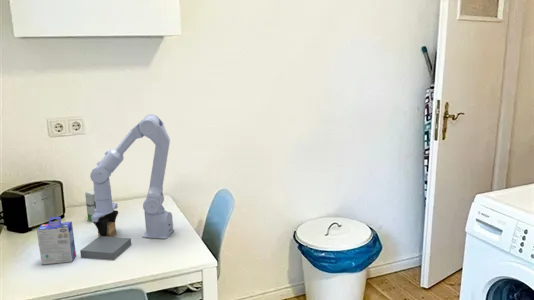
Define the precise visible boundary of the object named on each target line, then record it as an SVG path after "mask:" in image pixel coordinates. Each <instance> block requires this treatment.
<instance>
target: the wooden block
mask: <svg viewBox="0 0 534 300" xmlns="http://www.w3.org/2000/svg"><path fill="white" fill-rule="evenodd" d="M97 233H98V237H99V236H100V233H99V231H98V230H97ZM116 236H117V227H116V221H115V222H108V223H107V237H116Z"/></svg>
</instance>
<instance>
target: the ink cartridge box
mask: <svg viewBox="0 0 534 300" xmlns="http://www.w3.org/2000/svg"><path fill="white" fill-rule="evenodd" d="M53 220H57V221H53ZM73 228H74V227H73V222H72V221H64V222H63V221H62V219H61V216H54V217H53V216H52V217H49V218H48V223H45V224H40V226H39V227H38V229H36V232H37V233H36V234H37V240H38V241H37V242H38V247H39V255H40V262H41V265H50V264H52V265H53V264H60V263H70V262H71V263H72V262H73V261H74V259H75V258H76V256H77V251H76V245H75V236H74V229H73Z"/></svg>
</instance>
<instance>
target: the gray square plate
mask: <svg viewBox="0 0 534 300" xmlns="http://www.w3.org/2000/svg"><path fill="white" fill-rule="evenodd" d="M130 245H131V246H132V238H130V237H120V236H114V237H107V236H98V237H96V238H95V239H93V241H91V242H90V243H88V244H87V245H85V247H83V248H82V249H80V250H79V252H80V253H79V254H80V258H83V259H95V260H106V261H115V260H116V259H117V258H119V257H120V255H122V254H123V253H124V252H125V251H126V250H128V248H130V247H131V246H130Z"/></svg>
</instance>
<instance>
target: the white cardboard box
mask: <svg viewBox="0 0 534 300" xmlns="http://www.w3.org/2000/svg"><path fill="white" fill-rule="evenodd" d="M84 196H85V202H86V214H87V221H89V222H92V220H91V217H92V216H93V215H94V213H95V212H94V209H96V203H95V195H94V189H91V190H87V191H86V192H85V195H84ZM103 217H104V216H103Z"/></svg>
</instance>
